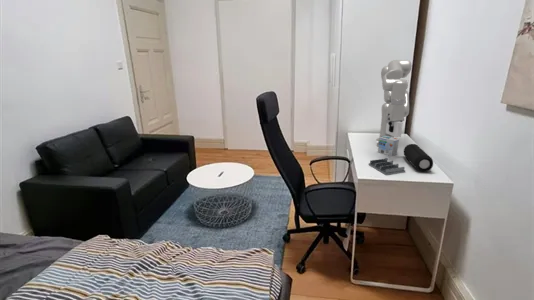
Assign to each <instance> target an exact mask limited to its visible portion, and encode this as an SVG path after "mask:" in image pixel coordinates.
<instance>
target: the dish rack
mask: <svg viewBox="0 0 534 300" xmlns="http://www.w3.org/2000/svg"><path fill="white" fill-rule="evenodd" d="M388 159H389V158H387V157H385V158H379V159H372V160H369V163H368V166H370V167H371V168H373V169H375V170H376V171H378V172H380V173H382V174H383V175H385V176H390V175H396V174H402V173H406V170H405V168H406V167H405V166H400V165H399V163H394V161H393V160H388ZM399 166H400V167H399Z"/></svg>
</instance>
